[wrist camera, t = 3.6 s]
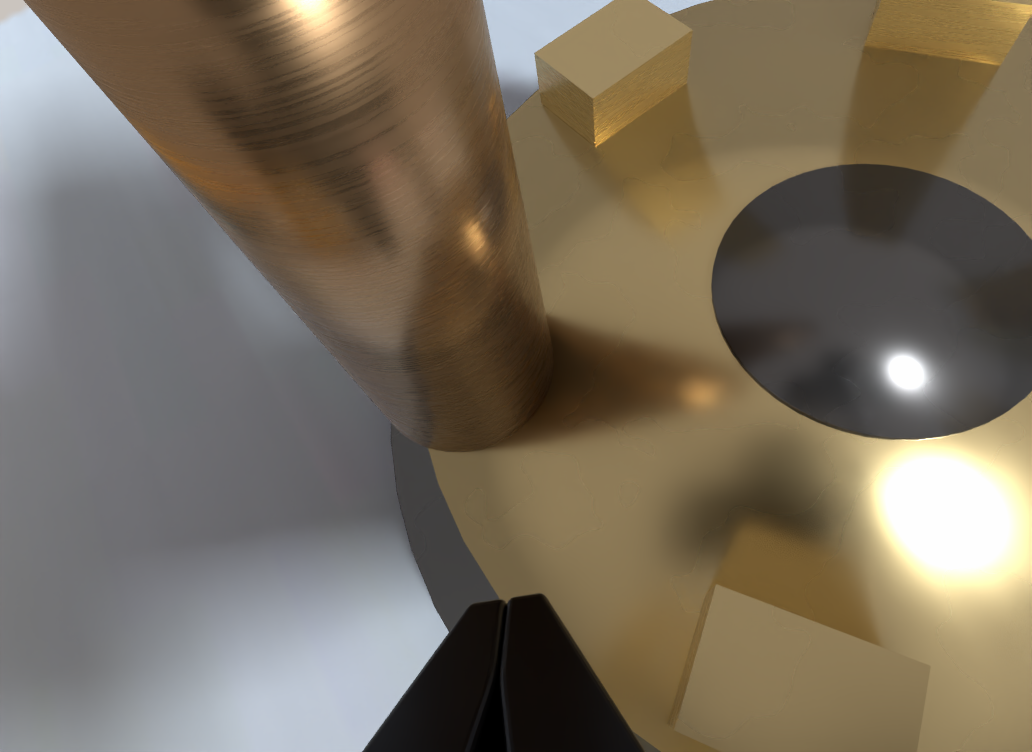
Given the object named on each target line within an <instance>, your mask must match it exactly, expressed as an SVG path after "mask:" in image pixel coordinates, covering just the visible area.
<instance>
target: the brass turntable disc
mask: <svg viewBox="0 0 1032 752" xmlns="http://www.w3.org/2000/svg"><path fill="white" fill-rule="evenodd" d="M24 1H25V3H26V4H27V5H28V6H29V7H30V8H31V9H32V11H33V12H34V13H35V14H36V15H37V16H38V17H39V19H40V20H41V21H42V22H43V23H44V24H45V26H46V27H47V28H48V29H49V30H50V31H51V32H52V34H53V35H54V36H55V37H56V38H57V39H58V40H59V42H60V43H61V44H62V45H63V46H64V47H65V48H66V50H67V51H68V52H69V53H70V54H71V55H72V57H73V58H74V59H75V60H76V61H77V62H78V63H79V65H80V66H81V67H82V68H83V69H84V70H85V71H86V73H87V74H88V75H89V76H90V77H91V78H92V80H93V81H94V82H95V83H96V84H97V85H98V86H99V88H100V89H101V90H102V91H103V92H104V93H105V94H106V96H107V97H108V98H109V99H110V100H111V101H112V102H113V104H114V105H115V106H116V107H117V108H118V109H119V111H120V112H121V113H122V114H123V115H124V116H125V117H126V119H127V120H128V121H129V122H130V123H131V124H132V125H133V127H134V128H135V129H136V130H137V131H138V132H139V134H140V135H141V136H142V137H143V138H144V139H145V140H146V142H147V143H148V144H149V145H150V146H151V147H152V148H153V150H154V151H155V152H156V153H157V154H158V155H159V156H160V158H161V159H162V160H163V161H164V162H165V163H166V165H167V166H168V167H169V168H170V169H171V170H172V171H173V173H174V174H175V175H176V176H177V177H178V178H179V179H180V181H181V182H182V183H183V184H184V185H185V186H186V188H187V189H188V190H189V191H190V192H191V193H192V194H193V196H194V197H195V198H196V199H197V200H198V201H199V202H200V204H201V205H202V206H203V207H204V208H205V209H206V210H207V212H208V213H209V214H210V215H211V216H212V217H213V219H214V220H215V221H216V222H217V223H218V224H219V225H220V227H221V228H222V229H223V230H224V231H225V232H226V233H227V235H228V236H229V237H230V238H231V239H232V240H233V241H234V243H235V244H236V245H237V246H238V247H239V248H240V250H241V251H242V252H243V253H244V254H245V255H246V256H247V258H248V259H249V260H250V261H251V262H252V263H253V264H254V266H255V267H256V268H257V269H258V270H259V271H260V273H261V274H262V275H263V276H264V277H265V278H266V279H267V281H268V282H269V283H270V284H271V285H272V286H273V287H274V289H275V290H276V291H277V292H278V293H279V294H280V295H281V297H282V298H283V299H284V300H285V301H286V302H287V304H288V305H289V306H290V307H291V308H292V309H293V310H294V312H295V313H296V314H297V315H298V316H299V317H300V318H301V320H302V321H303V322H304V323H305V324H306V325H307V327H308V328H309V329H310V330H311V331H312V332H313V333H314V335H315V336H316V337H317V338H318V339H319V340H320V341H321V343H322V344H323V345H324V346H325V347H326V348H327V349H328V351H329V352H330V353H331V354H332V355H333V356H334V358H335V359H336V360H337V361H338V362H339V363H340V364H341V366H342V367H343V368H344V369H345V370H346V371H347V372H348V374H349V375H350V376H351V377H352V378H353V379H354V381H355V382H356V383H357V384H358V385H359V386H360V387H361V389H362V390H363V391H364V392H365V393H366V394H367V395H368V397H369V398H370V399H371V400H372V401H373V402H374V403H375V405H376V406H377V407H378V408H379V409H380V410H381V412H382V413H383V414H384V415H385V416H386V417H387V418H388V420H389V421H390V422H391V423H392V424H393V425H394V426H395V428H396V429H397V430H398V431H400V432H401V433H402V434H403V435H404V436H405V437H407V438H409V439H410V440H412V441H413V442H415V443H417V444H420V445H422V446H424V447H427V448H428V450H429V453H430V456H431V460H432V463H433V467H434V470H435V474H436V477H437V481H438V484H439V486H440V489H441V491H442V493H443V495H444V498H445V500H446V502H447V504H448V507H449V509H450V511H451V513H452V516H453V518H454V520H455V522H456V525H457V527H458V529H459V531H460V533H461V536H462V538H463V540H464V542H465V544H466V545H467V547H468V549H469V550H470V552H471V553H472V555H473V557H474V558H475V560H476V562H477V563H478V565H479V566H480V568H481V570H482V571H483V573H484V574H485V576H486V578H487V579H488V581H489V582H490V584H491V586H492V587H493V589H494V591H495V592H496V594H497V595H498V597H499V599H503V600H505V601H506V602H507V603H508V601H509V600H510V599H511V598H512V597H516V596H523V595H529V594H536V593H542V594H544V595H545V596H546V597H547V598H548V600H549V601H550V603H551V605H552V606H553V608H554V609H555V611H556V612H557V614H558V616H559V617H560V619H561V620H562V622H563V623H564V625H565V626H566V628H567V630H568V631H569V633H570V634H571V636H572V637H573V639H574V640H575V642H576V644H577V645H578V647H579V648H580V650H581V651H582V653H583V655H584V656H585V658H586V659H587V661H588V662H589V664H590V665H591V667H592V669H593V670H594V672H595V673H596V675H597V676H598V678H599V679H600V681H601V683H602V684H603V686H604V687H605V689H606V690H607V692H608V694H609V695H610V697H611V698H612V700H613V701H614V703H615V704H616V706H617V708H618V709H619V711H620V712H621V714H622V715H623V717H624V719H625V720H626V722H627V723H628V725H629V726H630V728H631V729H632V731H633V732H635V733H636V734H637V735H639V736H640V737H641V738H643V739H644V740H646V741H647V742H648V743H650V744H651V745H652V746H654V747H655V748H657V749H658V750H659V751H661V752H1032V0H713V1H709V2H705V3H701V4H697V5H694V6H692V7H689V8H686V9H683V10H681V11H678V12H675V13H672V14H668V13H666V12H664V11H663V10H661V9H660V8H658V7H657V6H655V5H654V4H652V3H650V2H649V1H647V0H614V1H612V2H611V3H609V4H608V5H606V6H605V7H603V8H602V9H600V10H599V11H597V12H596V13H594V14H593V15H591V16H590V17H588V18H587V19H585V20H584V21H582V22H581V23H579V24H578V25H576V26H575V27H573V28H572V29H570V30H568V31H567V32H565V33H564V34H562V35H561V36H559V37H558V38H556V39H555V40H553V41H552V42H550V43H549V44H547V45H546V46H544V47H543V48H541V49H540V50H538V51H537V52H535V53H534V54H535V61H536V68H537V76H538V83H539V89H538V90H537V91H536V92H535V93H534V94H533V95H532V96H531V97H530V98H529V99H528V100H527V101H526V102H524V103H523V104H522V105H521V106H520V107H519V108H518V109H517V110H516V111H515V112H514V113H513V114H512V115H511V116H510V117H509V118H508V119H507V120H506V115H505V110H504V105H503V100H502V95H501V90H500V85H499V80H498V75H497V70H496V65H495V60H494V55H493V50H492V45H491V40H490V35H489V30H488V25H487V20H486V15H485V10H484V5H483V1H482V0H24Z"/></svg>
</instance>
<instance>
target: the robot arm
mask: <svg viewBox="0 0 1032 752" xmlns="http://www.w3.org/2000/svg"><path fill="white" fill-rule="evenodd" d="M362 752H646V751H645V750H644V748H643V747H642V745H641V743H640V742H639V740H638V739H637V737H636V736H635V734H634V733H633V731H632V729H631V728H630V726H629V725H628V723H627V722H626V720H625V719H624V717H623V715H622V714H621V712H620V711H619V709H618V708H617V706H616V704H615V703H614V701H613V700H612V698H611V697H610V695H609V694H608V692H607V690H606V689H605V687H604V686H603V684H602V683H601V681H600V679H599V678H598V676H597V675H596V673H595V672H594V670H593V669H592V667H591V665H590V664H589V662H588V661H587V659H586V658H585V656H584V655H583V653H582V651H581V650H580V648H579V647H578V645H577V644H576V642H575V640H574V639H573V637H572V636H571V634H570V633H569V631H568V630H567V628H566V626H565V625H564V623H563V622H562V620H561V619H560V617H559V616H558V614H557V612H556V611H555V609H554V608H553V606H552V605H551V603H550V601H549V600H548V598H547V597H546V596H545V595H544V594H542V593H536V594H529V595H523V596H516V597H512V598H511V599H510V600H509V601H508V603H507V602H506V601H505V600H503V599H497V600H491V601H484V602H478V603H473V604H471V605H470V606H468V607H467V609H466V610H465V611H464V613H463V614H462V615H461V617H460V618H459V620H458V621H457V622H456V624H455V625H454V626H453V628H452V629H451V631H450V632H449V633H448V635H447V636H446V637H445V639H444V640H443V642H442V643H441V644H440V646H439V647H438V648H437V650H436V651H435V652H434V654H433V655H432V657H431V658H430V659H429V661H428V662H427V663H426V665H425V666H424V668H423V669H422V670H421V672H420V673H419V674H418V676H417V677H416V679H415V680H414V681H413V683H412V684H411V685H410V687H409V688H408V690H407V691H406V692H405V694H404V695H403V696H402V698H401V699H400V701H399V702H398V703H397V705H396V706H395V707H394V709H393V710H392V712H391V713H390V714H389V716H388V717H387V718H386V720H385V721H384V722H383V724H382V725H381V727H380V728H379V729H378V731H377V732H376V733H375V735H374V736H373V738H372V739H371V740H370V742H369V743H368V744H367V746H366V747H365V749H364V750H363V751H362Z"/></svg>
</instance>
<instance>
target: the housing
mask: <svg viewBox="0 0 1032 752" xmlns="http://www.w3.org/2000/svg"><path fill="white" fill-rule="evenodd" d="M391 444H392V453H393V461H394V470H395V479H396V488H397V495H398V499H399V503H400V506H401V510H402V514H403V518H404V522H405V526H406V530H407V534H408V538H409V542H410V546H411V549H412V552H413V554H414V557H415V559H416V562H417V564H418V567H419V569H420V572H421V574H422V577H423V579H424V582H425V584H426V586H427V589H428V591H429V594H430V596H431V599H432V601H433V604H434V606H435V608H436V610H437V612H438V613H439V615H440V617H441V619H442V620H443V622H444V624H445V626H446V627H447V629H448V631H449V632H450V631H451V629H452V628H453V626H454V625H455V624H456V622H457V621H458V620H459V618H460V617H461V615H462V614H463V613H464V611H465V610H466V609H467V607H468V606H470V605H471V604H473V603H478V602H484V601H491V600H497V599H499V597H498V595H497V594H496V592H495V591H494V589H493V587H492V586H491V584H490V582H489V581H488V579H487V578H486V576H485V574H484V573H483V571H482V570H481V568H480V566H479V565H478V563H477V562H476V560H475V558H474V557H473V555H472V553H471V552H470V550H469V549H468V547H467V545H466V544H465V542H464V540H463V538H462V536H461V533H460V531H459V529H458V527H457V525H456V522H455V520H454V518H453V516H452V513H451V511H450V509H449V507H448V504H447V502H446V500H445V498H444V495H443V493H442V491H441V489H440V486H439V484H438V481H437V477H436V474H435V470H434V467H433V463H432V460H431V456H430V453H429V450H428V448H427V447H424V446H422V445H420V444H417V443H415V442H413V441H412V440H410V439H409V438H407V437H405V436H404V435H403V434H402V433H401V432H400V431H398V430H397V429H396V428H395V426H394V425H393V424H392V423H391ZM633 733H634V734H635V736H636V737H637V739H638V740H639V742H640V743H641V745H642V747H643V748H644V750H645V751H646V752H661V751H659V750H658V749H657V748H655V747H654V746H652V745H651V744H650V743H648V742H647V741H646V740H644V739H643V738H641V737H640V736H639V735H637V734H636V733H635V732H633Z"/></svg>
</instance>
